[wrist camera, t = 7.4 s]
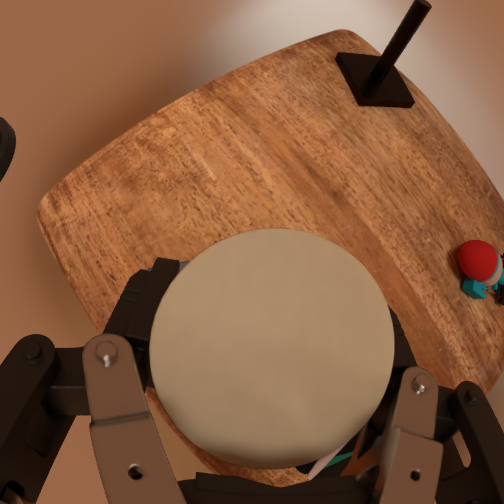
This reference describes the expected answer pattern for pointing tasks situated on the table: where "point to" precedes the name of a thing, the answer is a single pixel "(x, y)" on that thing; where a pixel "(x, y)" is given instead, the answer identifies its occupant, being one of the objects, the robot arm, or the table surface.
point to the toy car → (330, 462)
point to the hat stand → (383, 66)
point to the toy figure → (481, 269)
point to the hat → (271, 348)
